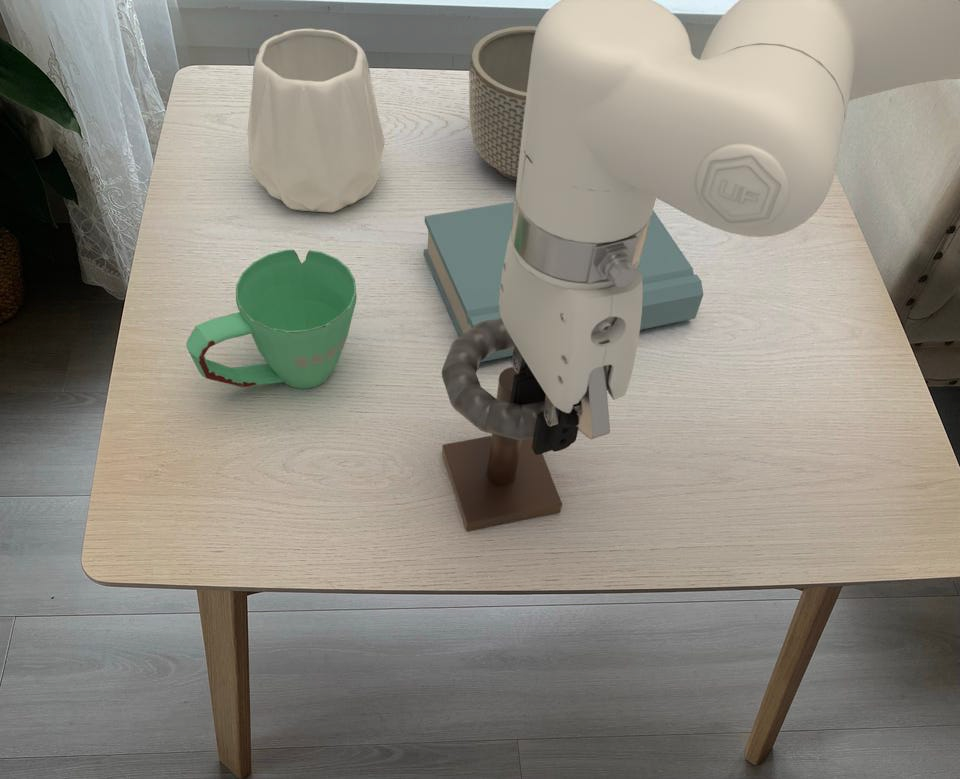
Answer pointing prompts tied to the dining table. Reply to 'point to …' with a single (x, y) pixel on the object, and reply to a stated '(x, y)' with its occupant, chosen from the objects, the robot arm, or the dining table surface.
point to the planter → (500, 95)
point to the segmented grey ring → (472, 396)
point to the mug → (284, 321)
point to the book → (480, 258)
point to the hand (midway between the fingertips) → (541, 425)
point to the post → (500, 476)
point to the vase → (314, 121)
